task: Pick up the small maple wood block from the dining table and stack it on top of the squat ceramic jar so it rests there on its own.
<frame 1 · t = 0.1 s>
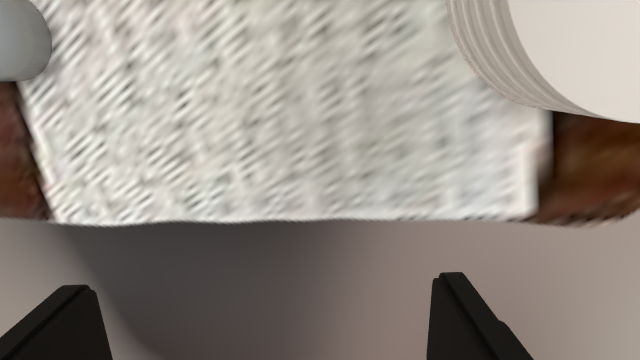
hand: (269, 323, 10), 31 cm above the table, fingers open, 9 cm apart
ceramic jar: (6, 35, 36), on the table
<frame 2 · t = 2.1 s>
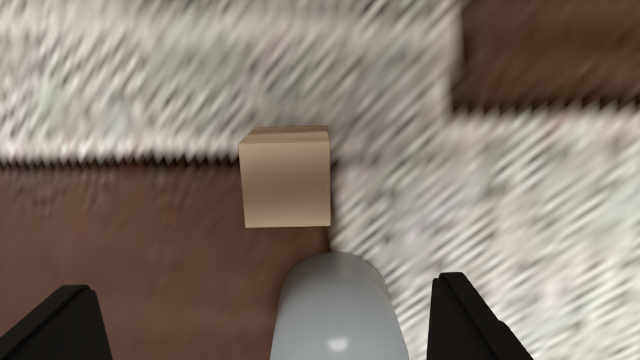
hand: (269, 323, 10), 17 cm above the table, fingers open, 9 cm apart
maple block: (292, 160, 26), on the table
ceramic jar: (333, 299, 29), on the table
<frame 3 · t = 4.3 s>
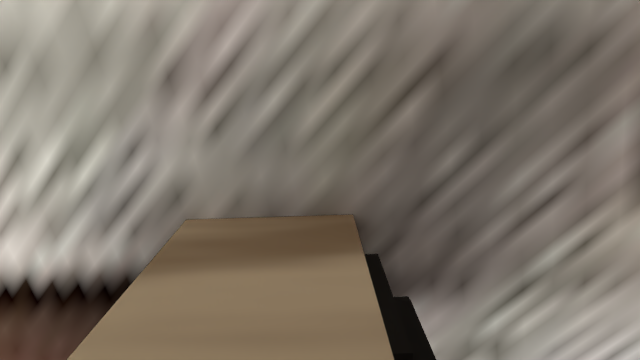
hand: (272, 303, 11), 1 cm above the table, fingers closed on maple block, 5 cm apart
maple block: (275, 288, 11), on the table, touching gripper
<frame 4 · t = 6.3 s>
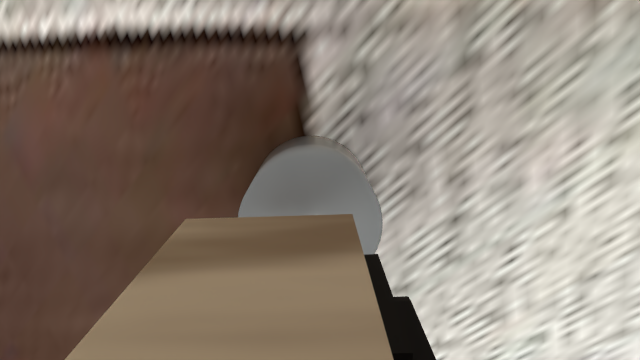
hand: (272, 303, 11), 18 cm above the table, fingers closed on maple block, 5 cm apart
maple block: (274, 288, 11), point 17 cm above the table, touching gripper
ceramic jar: (311, 190, 28), on the table
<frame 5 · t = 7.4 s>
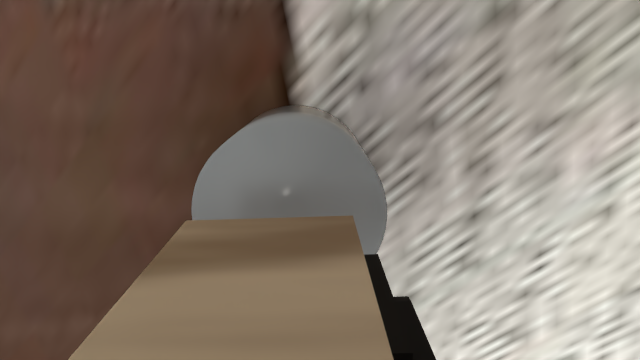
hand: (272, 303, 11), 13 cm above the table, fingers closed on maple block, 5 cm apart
maple block: (274, 289, 11), point 12 cm above the table, touching gripper
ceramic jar: (297, 175, 23), on the table
when the fingers open (9 cm above the table, at t = 8.4 s): maple block drops 1 cm, resting on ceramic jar.
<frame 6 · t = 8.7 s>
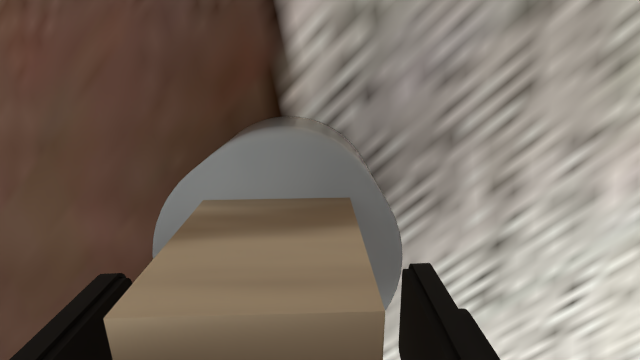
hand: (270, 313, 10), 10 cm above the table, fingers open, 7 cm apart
maple block: (280, 263, 13), point 7 cm above the table, touching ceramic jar
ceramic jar: (290, 198, 19), on the table, touching maple block
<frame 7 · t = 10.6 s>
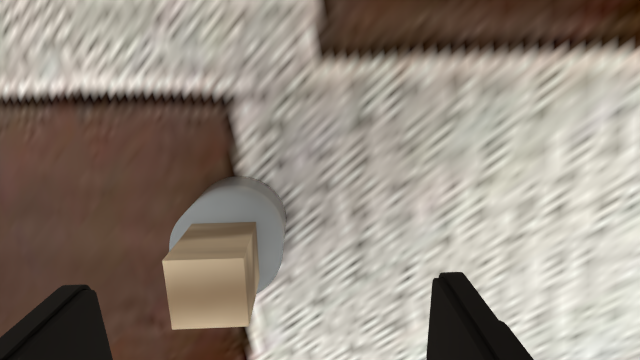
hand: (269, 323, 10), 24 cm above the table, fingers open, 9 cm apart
maple block: (226, 251, 28), point 7 cm above the table, touching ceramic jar
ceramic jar: (241, 219, 35), on the table, touching maple block
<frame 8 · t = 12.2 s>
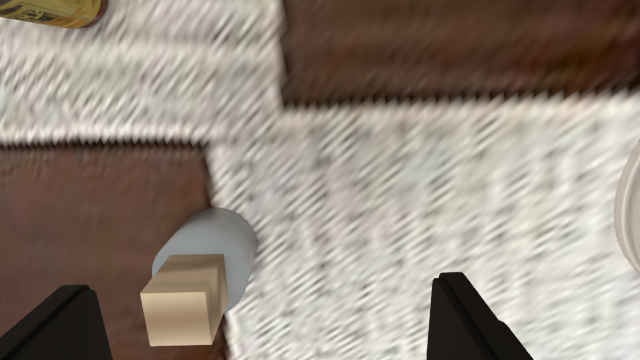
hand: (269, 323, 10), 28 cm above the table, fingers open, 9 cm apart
maple block: (200, 277, 34), point 7 cm above the table, touching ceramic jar
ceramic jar: (218, 243, 40), on the table, touching maple block
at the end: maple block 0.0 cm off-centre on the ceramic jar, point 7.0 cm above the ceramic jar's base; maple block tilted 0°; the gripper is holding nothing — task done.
